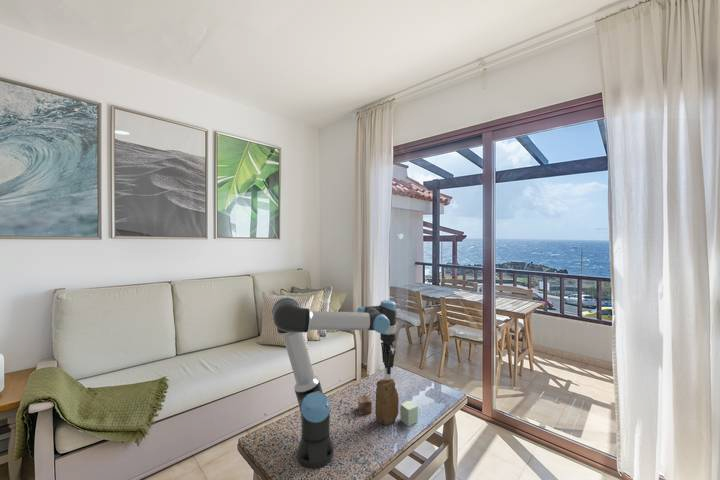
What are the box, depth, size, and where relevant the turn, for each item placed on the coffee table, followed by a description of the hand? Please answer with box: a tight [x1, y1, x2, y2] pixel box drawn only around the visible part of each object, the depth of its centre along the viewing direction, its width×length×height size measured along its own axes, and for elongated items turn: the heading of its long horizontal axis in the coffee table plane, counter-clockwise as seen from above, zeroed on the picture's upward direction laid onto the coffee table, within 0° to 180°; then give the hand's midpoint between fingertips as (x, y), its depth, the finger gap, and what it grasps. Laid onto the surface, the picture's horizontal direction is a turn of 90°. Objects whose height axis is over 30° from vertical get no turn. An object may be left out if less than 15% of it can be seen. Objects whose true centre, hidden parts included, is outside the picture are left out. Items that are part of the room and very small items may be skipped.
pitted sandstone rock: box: [374, 378, 400, 425], centre depth 151 cm, size 11×8×20 cm
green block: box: [399, 400, 419, 427], centre depth 150 cm, size 6×6×8 cm
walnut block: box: [357, 395, 373, 415], centre depth 159 cm, size 6×6×6 cm
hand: (387, 379), depth 150 cm, fingers closed
